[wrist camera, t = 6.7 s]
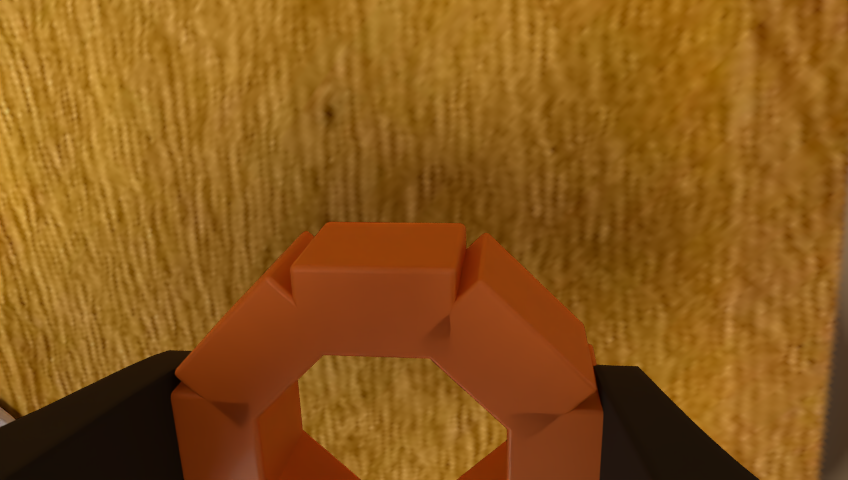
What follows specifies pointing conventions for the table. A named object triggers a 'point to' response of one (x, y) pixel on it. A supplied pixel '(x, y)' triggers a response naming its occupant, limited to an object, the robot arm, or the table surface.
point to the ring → (390, 353)
